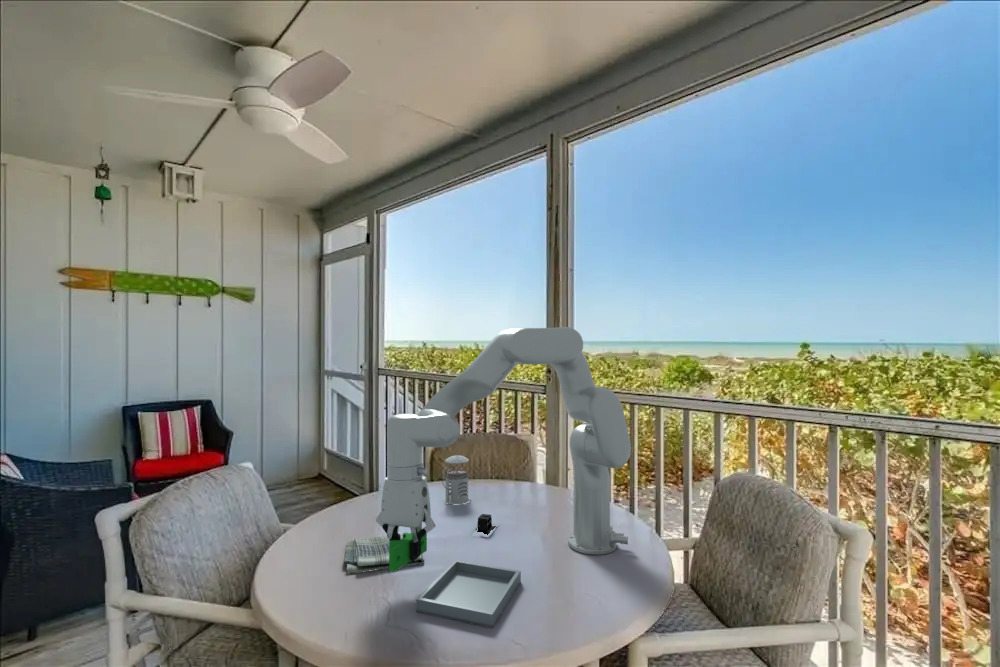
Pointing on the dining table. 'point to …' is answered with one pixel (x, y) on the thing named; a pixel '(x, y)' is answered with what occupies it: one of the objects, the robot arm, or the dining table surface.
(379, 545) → the dish towel
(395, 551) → the pipe clamp
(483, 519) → the black block
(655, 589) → the dining table surface
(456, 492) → the grey metal lantern
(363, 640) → the dining table surface
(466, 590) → the tray
